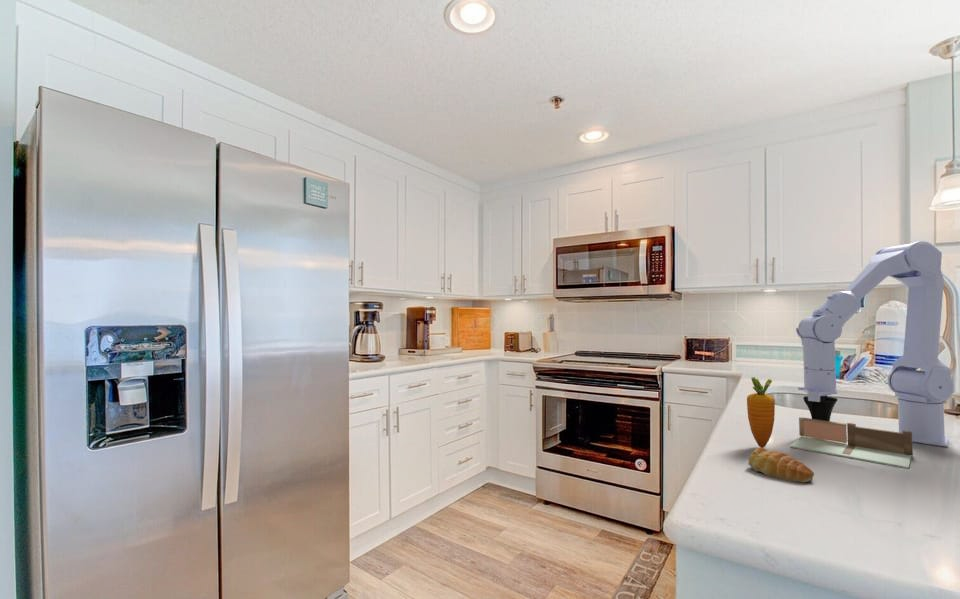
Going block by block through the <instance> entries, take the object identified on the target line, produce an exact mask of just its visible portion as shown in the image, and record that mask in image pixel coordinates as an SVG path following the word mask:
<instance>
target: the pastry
mask: <svg viewBox="0 0 960 599" xmlns="http://www.w3.org/2000/svg"><path fill="white" fill-rule="evenodd" d="M748 465H749V467H750V468H752V470H754V472H757V473H758V472H760V473H763V475H765V476H769V477H770V478H771V477H774V478H777V479H781V480H786V481H789V482H799V483H807V482H809V481H812V480H813V479H814V476H815V472H814V471H813V470H812V469H811V468H810V467H809V466H807V465H806V464H805V463H804V462H801V461H799V460H798V459H796V458H793V457H791V456H789V455H788V453H784V452H778V451H777V450H768V449H767V448H765V447H764V448H761V447H760V446H759V447H756V448H755V449H754V450H753V451H752V452H751V454H750V455H749V459H748Z"/></svg>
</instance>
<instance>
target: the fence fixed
mask: <svg viewBox="0 0 960 599" xmlns="http://www.w3.org/2000/svg"><path fill="white" fill-rule="evenodd" d="M856 425H857V424H856V423H854V422H853V423H852V422H847V423H846V429H847V440H848V445H852V446H860V447H866V448H872V449H879V450H885V451H891V452H897V453H903V454H905V455H912V456H913V455H914V453H913V452H914V451H913V450H914V449H913V442H912V432H911V431H902V433H900V432H898V431H894V430H893V431H892V430H884V429H878V428H872V427H871V428H870V427H862V426H856Z"/></svg>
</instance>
